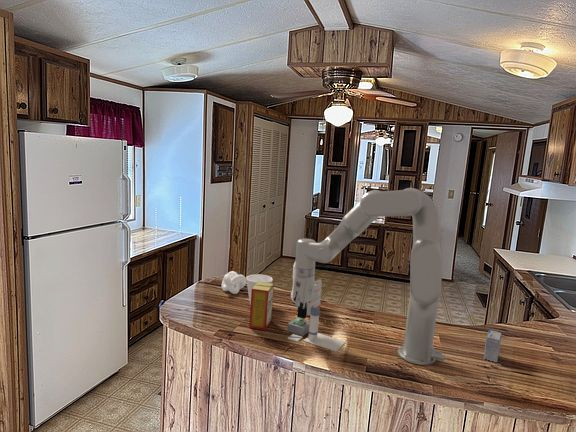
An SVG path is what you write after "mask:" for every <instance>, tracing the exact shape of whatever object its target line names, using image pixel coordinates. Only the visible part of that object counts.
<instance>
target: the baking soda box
mask: <svg viewBox="0 0 576 432" xmlns="http://www.w3.org/2000/svg"><path fill="white" fill-rule="evenodd" d="M274 286H275V284H274V283H273V282H272V283H265V282H257V283H256V285H255V286H254V287H253V288H252V291H251V306H250V307H249V308H250V310H249V325H248V328H250V329H254V330H255V329H256V330H261V331H262V330H263V331H266V330H267V328H268V327H269V326H270V324H271V322H272V316H273V313H272V312H273V303H274V302H273V301H274Z"/></svg>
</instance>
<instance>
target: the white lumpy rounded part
mask: <svg viewBox="0 0 576 432" xmlns="http://www.w3.org/2000/svg"><path fill="white" fill-rule="evenodd" d="M246 285H247V280H246V276H245V275H243V274H238V272H236V271H234V270H232V271H229V272H227V273H226V274H224V276H223V279H222V281H221V290H222V291H224V292H230V293H231V294H233V295H236V294H237V295H238V293H239V292H240V290H241V289H242V288H244V287H245V286H246Z"/></svg>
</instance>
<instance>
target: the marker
mask: <svg viewBox="0 0 576 432" xmlns="http://www.w3.org/2000/svg"><path fill="white" fill-rule="evenodd" d="M320 313H321V309H319V308H315V307H314V308H311V310H310V316H309V322H310V325H309V332H308V336H309V337H308V336H307V337H308V340H309V341H311V342H315V341H317V334H318V333H319V324H320V323H319V320H320Z"/></svg>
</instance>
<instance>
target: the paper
mask: <svg viewBox="0 0 576 432" xmlns="http://www.w3.org/2000/svg"><path fill="white" fill-rule="evenodd" d="M308 337H309V335H307V337H306V338H305V339H303V342H305V343H308V344H310V345H311V344H312V345H315V346H317V347H320V348H321V347H322V348H325V349H326V350H330V351H333V352H338V351H339V350H340V348H342V347H343V346H344V345H345V343H346V342H347V341H345V340H342V339H339V338H336V337H332V336H329V335H326V334H322V333H319V332H318V334H317V341H315V342H311V341H309V340H308Z"/></svg>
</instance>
